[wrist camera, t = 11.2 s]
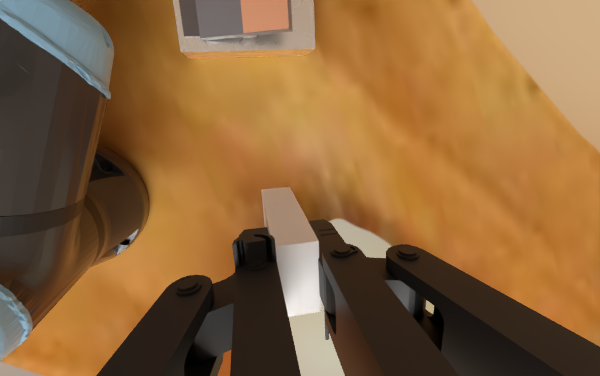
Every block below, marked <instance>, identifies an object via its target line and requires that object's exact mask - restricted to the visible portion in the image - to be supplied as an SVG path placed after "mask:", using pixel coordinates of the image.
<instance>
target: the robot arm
mask: <svg viewBox="0 0 600 376" xmlns="http://www.w3.org/2000/svg"><path fill="white" fill-rule="evenodd" d="M113 59H114V45H113V42H112V40H111V37H110V36H109V34H108V32H107V31H106V30H105V28H104V27H103V26H102V25H101V24H100V23H99V22H98V21H97V20H96V19H94V18H93V17H92V16H91V15H90V14H88V13H87V12H86V11H84V10H83V9H82V8H80V7H79V6H77V5H76V4H75V3H73V2H72V1H70V0H0V361H1V360H2V359H4V358H5V357H6V356H7V355H8V354H9V353H11V352H12V351H13V350H14V349H15V348H17V347H18V346H19V345H20V344H22V343H23V342H24V341H25V340H26V339H27V338H28V337H29V335H30V332H31V331H32V330H33V329H34V328H35V326H36V325H37V324H38V323H39V322H40V321H41V320H42V319H43V318H44V317H45V316H46V314H47V313H48V312H49V311H50V310H51V309H52V308H53V307H54V306H55V305H56V304H57V302H58V301H59V300H60V299H61V298H62V297H63V296H64V295H65V294H66V293H67V292H68V290H69V289H70V288H71V287H72V286H73V285H74V284H75V283H76V282H77V281H78V279H79V278H80V277H81V276H82V275H83V274H84V273H85V272H86V271H87V270H88V269H89V267H92V266H94V265H97V264H99V263H102V262H104V261H107V260H109V259H111V258H113V257H115V256H117V255H119V254H120V253H122V252H123V251H124V250H126V249H127V248H128V247H129V246H130V245H131V244H132V243H133V242H134V241H135V239H136V238H137V237H138V236H139V234H140V233H141V231H142V230H143V228H144V226H145V224H146V221H147V218H148V213H149V199H148V194H147V190H146V187H145V185H144V183H143V181H142V179H141V177H140V176H139V174H138V173H137V171H136V170H135V169H134V168H133V167H132V166H131V165H130V164H129V163H128V162H127V161H126V160H125V159H123V158H122V157H121V156H119V155H118V154H116V153H114V152H113V151H111V150H109V149H107V148H104V147H102V146H99V145H97V144H98V140H99V135H100V131H101V126H102V122H103V118H104V113H105V109H106V104H107V100H110V98H111V92H110V90H109V85H110V78H111V72H112V66H113ZM261 191H262V201H263V212H264V223H265V227H264V228H256V229H248V230H244V231H243V232H242V233H241V234H240V235H239V237H238V238H237V239H236V240H234V242H233V244H232V246H233V254H234V261H235V273H234V274H233V275H231V276H230V277H228V278H227V279H225V280H222V281H220V282H217V283H214V284H212V281H211V279H210V278H208V277H206V276H203V275H193V276H191V275H190V276H186V277H183V278H180V279H179V280H177V281H175V282H173V283H172V284H170V285H169V286H168V287H167V288H166V289H165V290H164V292H163V293H162V294H161V296H160V297H159V298H158V299H157V301H156V302H155V303H154V304H153V306H152V307H151V308H150V309H149V311H148V312H147V313H146V314H145V316H144V317H143V318H142V319H141V321H140V322H139V323H138V324H137V326H136V327H135V328H134V329H133V331H132V332H131V333H130V334H129V336H128V337H127V338H126V339H125V341H124V342H123V343H122V344H121V346H120V347H119V348H118V349H117V351H116V352H115V353H114V354H113V356H112V357H111V358H110V359H109V361H108V362H107V363H106V364H105V366H104V367H103V368H102V369H101V371H100V372H99V373H98V374H97V376H217V375H218V372H219V369H220V367H221V364H222V361H223V353H224V352H227V351H229V350H231V349H232V350H231V371H230V376H301V374H300V370H299V365H298V361H297V356H296V351H295V346H294V341H293V336H292V332H291V327H290V322H289V318H288V317H289V316H296V315H302V314H307V313H314V312H319V311H321V300H322V302H323V305H324V310H325V311H324V312H325V336H326V340H328V339H329V333H330V336H331V338H332V341H333V344H334V347H335V349H336V352H337V355H338V358H339V360H340V363H341V366H342V369H343V371H344V374H345V376H600V347H599V346H597V345H596V344H594V343H592V342H590V341H588V340H586V339H585V338H583V337H581V336H579V335H577V334H576V333H574V332H572V331H570V330H568V329H566V328H565V327H563V326H561V325H559V324H557V323H556V322H554V321H552V320H550V319H548V318H546V317H545V316H543V315H541V314H539V313H537V312H536V311H534V310H532V309H530V308H528V307H526V306H525V305H523V304H521V303H519V302H517V301H516V300H514V299H512V298H510V297H508V296H506V295H505V294H503V293H501V292H499V291H497V290H496V289H494V288H492V287H490V286H488V285H486V284H485V283H483V282H481V281H479V280H477V279H476V278H474V277H472V276H470V275H468V274H466V273H465V272H463V271H461V270H459V269H457V268H456V267H454V266H452V265H450V264H448V263H446V262H445V261H443V260H441V259H439V258H437V257H436V256H434V255H432V254H430V253H428V252H426V251H425V250H423V249H420V248H418V247H415V246H410V245H406V244H405V245H404V244H402V245H396V246H392V247H390V248H389V249H388V250H387V251H386V258H369V257H366V256H365V255H364V254H363V252H362V251H361V250H360V249H359V248H358V247H356V246H353V245H351V244H346V243H345V242H344V240H343V239H342V238H341V236H340V235H339V234H338V232H337V231H336V229H335V228H334V226H333V225H332V224H331V223H330V222H328V221H326V220H324V219H323V220H315V221H308V220H307V218H306V216H305V215H304V213H303V211H302V209H301V207H300V205H299V203H298V202H297V200H296V198H295V196H294V194H293V192H292V191H291V189H290V187H283V188H273V189H263V190H261ZM426 300H428V301H429V302H430V303H432V304H433V305H434V313H433V314H431V313H430V312H428V311H427V310H426V309H425V307H426Z"/></svg>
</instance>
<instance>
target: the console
mask: <svg viewBox="0 0 600 376" xmlns="http://www.w3.org/2000/svg"><path fill="white" fill-rule="evenodd" d="M173 5H174V12H175V18H176V25H177V32H178V38H179V45H180V51H181V53H182V54H183V55H185V56H186V57H187V58H188V59H211V58H244V57H277V56H306V55H308V54H309V53H310V52H312V51H313V50H314V49H315V24H314V0H291V9H292V28H293V32H283V33H274V34H265V35H256V37H255V38H244V37H236V38H227V39H217V40H208V41H206V40H203V39H200V33H199V25H198V17H197V10H196V2H195V0H173Z"/></svg>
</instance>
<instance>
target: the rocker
mask: <svg viewBox="0 0 600 376" xmlns="http://www.w3.org/2000/svg"><path fill="white" fill-rule="evenodd" d="M195 2H196V10H197V17H198V25H199V33H200V39H203V40H206V41H208V40H217V39H227V38H236V37H244V38H255V37H256V35H265V34H274V33H283V32H293V28H292V9H291V0H195Z"/></svg>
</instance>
